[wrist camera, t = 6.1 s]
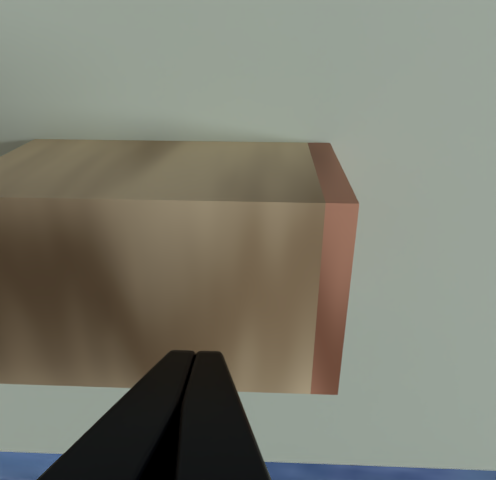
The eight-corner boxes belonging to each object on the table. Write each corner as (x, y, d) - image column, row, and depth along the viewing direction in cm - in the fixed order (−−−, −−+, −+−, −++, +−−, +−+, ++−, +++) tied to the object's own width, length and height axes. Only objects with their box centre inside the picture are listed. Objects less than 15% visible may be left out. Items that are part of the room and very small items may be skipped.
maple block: (337, 394, 10) (-17, 383, 11) (318, 288, 14) (62, 281, 15) (359, 204, 8) (-77, 196, 9) (329, 143, 12) (34, 139, 13)
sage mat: (492, 457, 18) (499, 470, 17) (-64, 436, 19) (-74, 448, 18) (722, -246, 9) (750, -262, 9) (-326, -226, 10) (-361, -240, 10)
